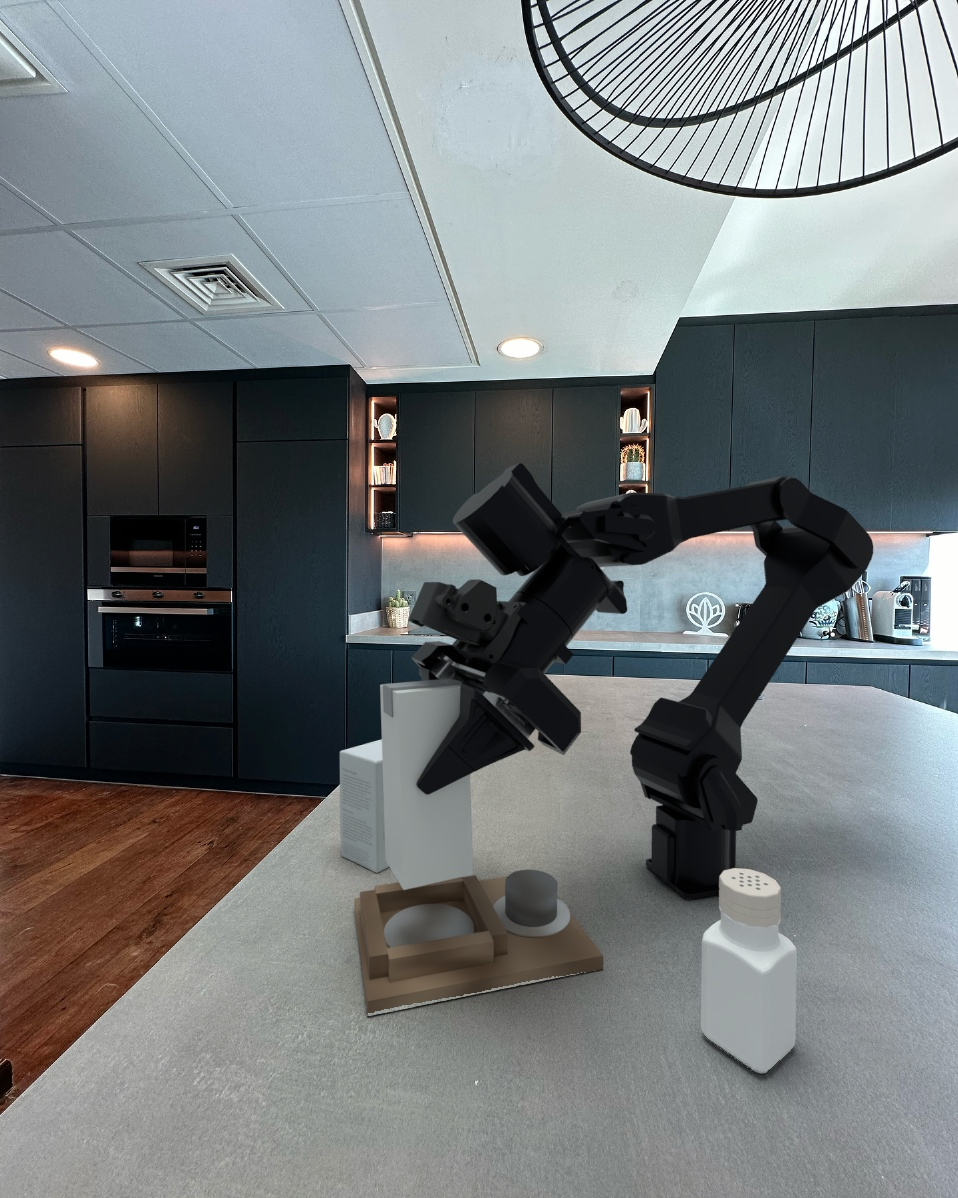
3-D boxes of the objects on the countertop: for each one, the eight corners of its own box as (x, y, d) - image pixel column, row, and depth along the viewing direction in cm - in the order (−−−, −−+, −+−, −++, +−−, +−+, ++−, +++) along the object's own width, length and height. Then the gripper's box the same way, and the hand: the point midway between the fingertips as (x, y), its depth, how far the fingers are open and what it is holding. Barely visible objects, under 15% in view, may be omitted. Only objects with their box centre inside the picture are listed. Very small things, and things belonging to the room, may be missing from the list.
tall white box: (450, 847, 45) (444, 676, 45) (474, 873, 40) (468, 683, 40) (384, 860, 43) (378, 682, 43) (402, 890, 38) (395, 690, 38)
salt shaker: (763, 1085, 31) (765, 908, 30) (696, 1037, 34) (698, 877, 34) (800, 1049, 33) (802, 885, 33) (733, 1008, 36) (735, 858, 36)
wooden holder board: (538, 883, 51) (538, 844, 51) (603, 969, 40) (603, 919, 40) (354, 910, 47) (354, 868, 47) (367, 1017, 35) (367, 961, 35)
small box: (399, 830, 62) (398, 733, 62) (436, 844, 59) (436, 742, 59) (338, 857, 56) (337, 749, 56) (376, 875, 53) (375, 761, 52)
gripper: (432, 550, 51) (306, 684, 47) (537, 533, 34) (354, 741, 30) (512, 634, 55) (401, 766, 51) (644, 657, 38) (493, 858, 34)
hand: (409, 777), depth 41 cm, fingers closed on tall white box, 5 cm apart
